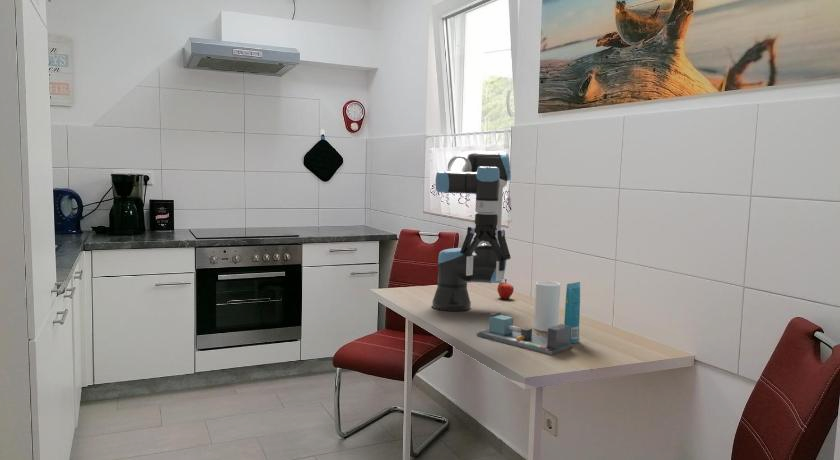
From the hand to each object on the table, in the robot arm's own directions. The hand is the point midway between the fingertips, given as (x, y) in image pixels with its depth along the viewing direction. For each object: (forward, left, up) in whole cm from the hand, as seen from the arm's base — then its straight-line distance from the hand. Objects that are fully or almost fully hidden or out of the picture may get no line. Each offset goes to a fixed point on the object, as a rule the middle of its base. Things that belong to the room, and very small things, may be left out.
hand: (483, 277), depth 208 cm
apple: (-26, +50, -18) cm, 59 cm away
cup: (+13, +20, -18) cm, 30 cm away
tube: (+27, +12, -18) cm, 35 cm away
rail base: (+17, 0, -18) cm, 25 cm away
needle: (+18, -2, -17) cm, 25 cm away
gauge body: (+10, 0, -17) cm, 20 cm away
